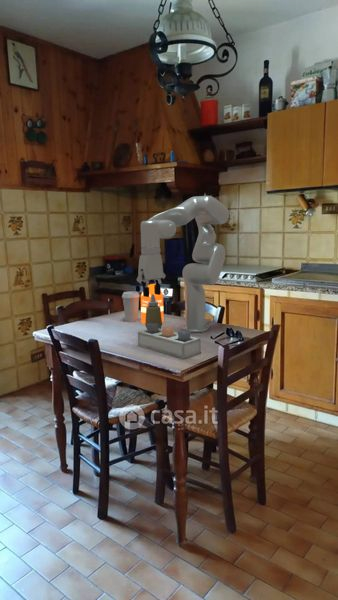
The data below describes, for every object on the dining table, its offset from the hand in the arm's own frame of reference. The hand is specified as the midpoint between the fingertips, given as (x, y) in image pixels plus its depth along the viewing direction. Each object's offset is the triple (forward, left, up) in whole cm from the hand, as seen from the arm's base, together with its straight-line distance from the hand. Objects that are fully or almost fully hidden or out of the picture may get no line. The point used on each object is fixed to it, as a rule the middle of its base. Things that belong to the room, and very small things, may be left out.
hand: (152, 295), depth 176 cm
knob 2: (0, +18, -18) cm, 25 cm away
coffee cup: (-23, -42, -22) cm, 53 cm away
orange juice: (-27, -30, -22) cm, 46 cm away
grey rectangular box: (0, +9, -22) cm, 23 cm away
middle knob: (0, +9, -18) cm, 20 cm away
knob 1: (0, 0, -18) cm, 18 cm away
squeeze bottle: (-15, -16, -22) cm, 31 cm away
